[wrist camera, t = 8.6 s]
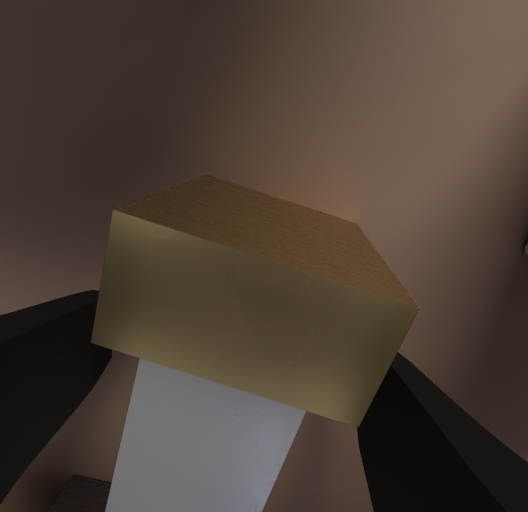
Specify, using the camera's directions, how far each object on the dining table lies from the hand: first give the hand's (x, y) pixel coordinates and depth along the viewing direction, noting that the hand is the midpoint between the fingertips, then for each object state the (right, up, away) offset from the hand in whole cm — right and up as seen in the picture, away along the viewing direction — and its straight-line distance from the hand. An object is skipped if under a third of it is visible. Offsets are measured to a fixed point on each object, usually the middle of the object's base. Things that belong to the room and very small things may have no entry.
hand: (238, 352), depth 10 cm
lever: (0, -1, +3) cm, 3 cm away
